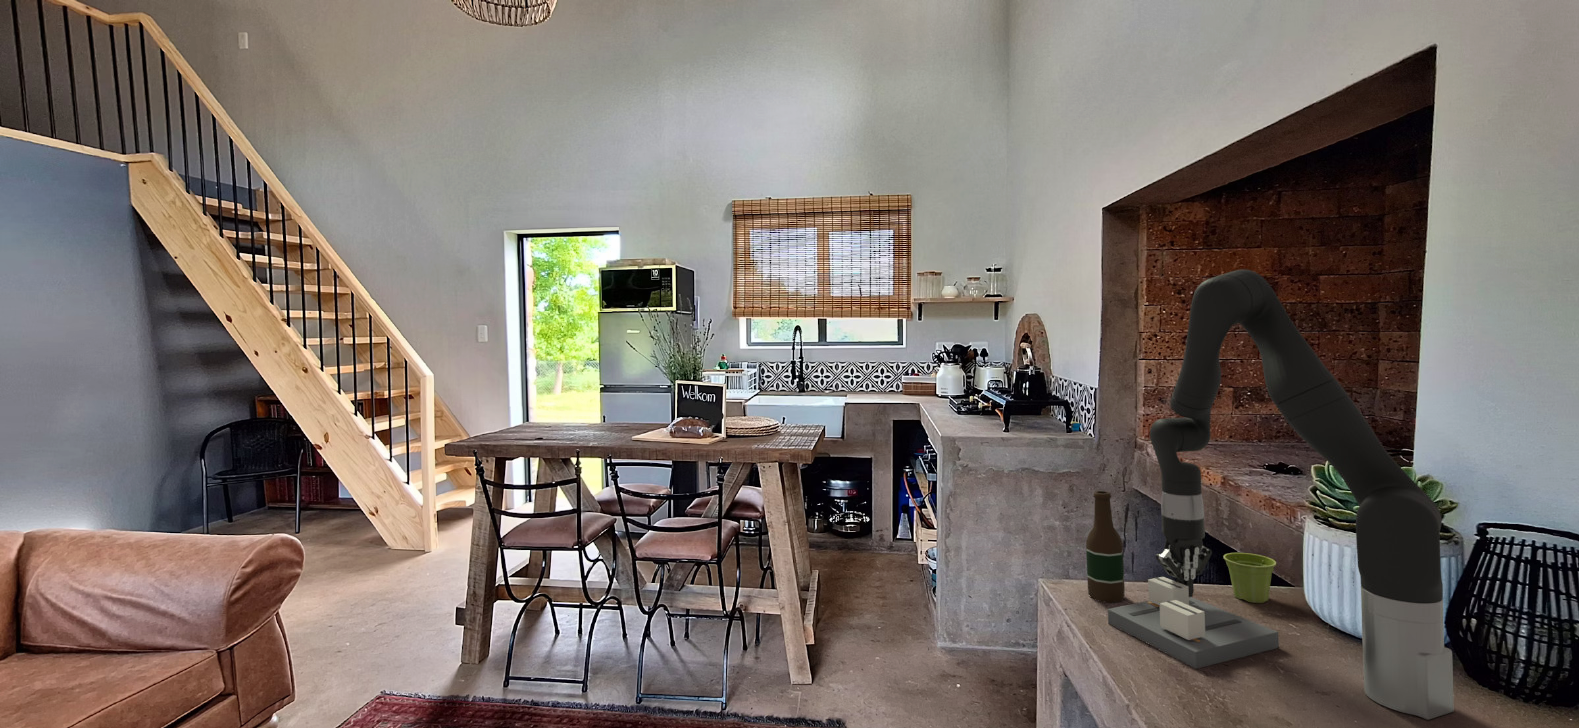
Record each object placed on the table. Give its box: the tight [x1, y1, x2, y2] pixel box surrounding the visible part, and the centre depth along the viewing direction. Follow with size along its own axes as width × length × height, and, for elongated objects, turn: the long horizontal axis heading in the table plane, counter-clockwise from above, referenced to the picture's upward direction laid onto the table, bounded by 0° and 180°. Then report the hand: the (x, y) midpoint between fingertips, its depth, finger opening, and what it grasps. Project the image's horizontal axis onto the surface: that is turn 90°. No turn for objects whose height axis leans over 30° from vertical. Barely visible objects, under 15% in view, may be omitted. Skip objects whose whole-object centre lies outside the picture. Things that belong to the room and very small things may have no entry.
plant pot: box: [1223, 552, 1277, 604], centre depth 139 cm, size 9×9×9 cm
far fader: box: [1147, 576, 1189, 605], centre depth 130 cm, size 6×4×5 cm, turn 17°
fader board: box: [1107, 596, 1280, 670], centre depth 124 cm, size 20×20×3 cm
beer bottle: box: [1085, 490, 1126, 603], centre depth 144 cm, size 8×8×24 cm
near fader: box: [1160, 600, 1205, 640], centre depth 118 cm, size 6×4×5 cm, turn 17°
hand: (1185, 596), depth 131 cm, fingers closed
